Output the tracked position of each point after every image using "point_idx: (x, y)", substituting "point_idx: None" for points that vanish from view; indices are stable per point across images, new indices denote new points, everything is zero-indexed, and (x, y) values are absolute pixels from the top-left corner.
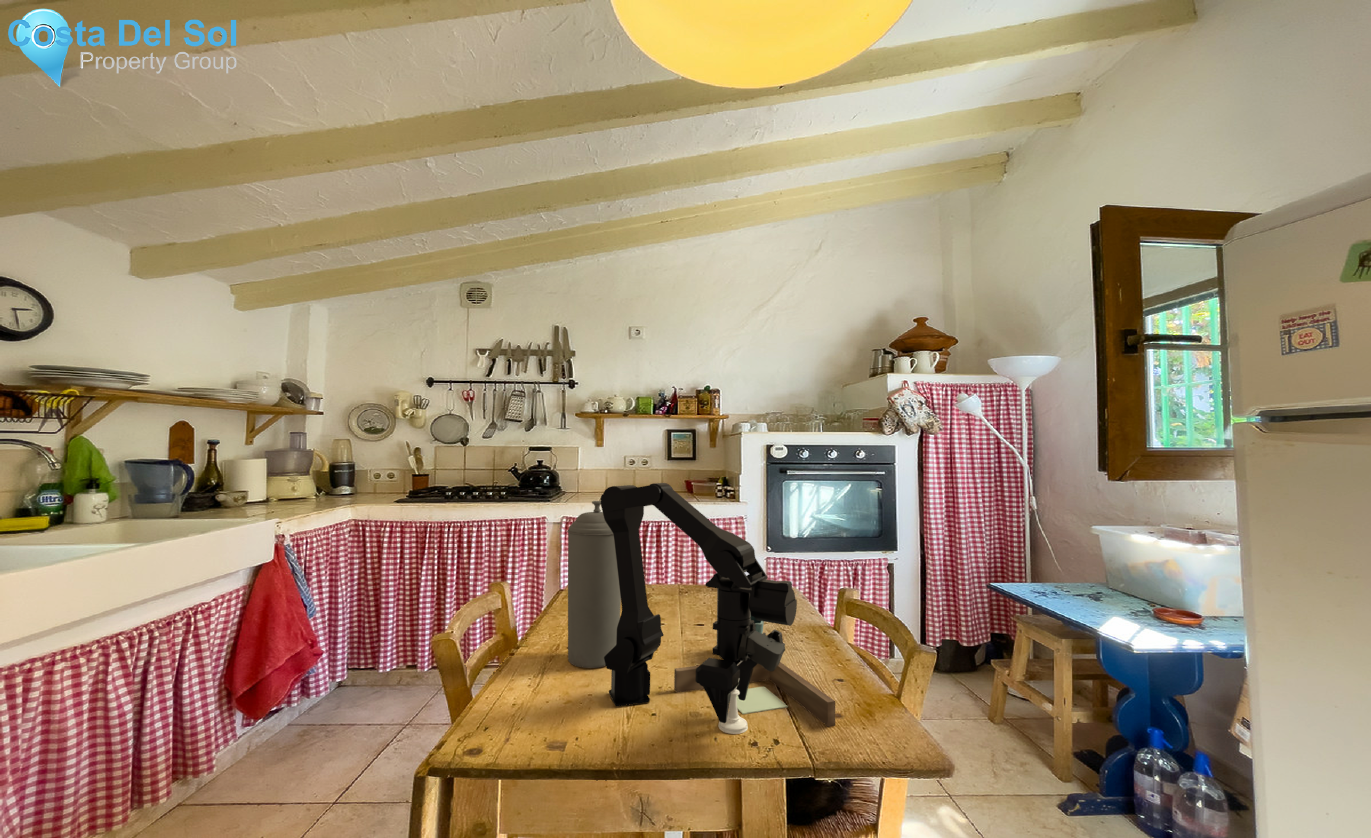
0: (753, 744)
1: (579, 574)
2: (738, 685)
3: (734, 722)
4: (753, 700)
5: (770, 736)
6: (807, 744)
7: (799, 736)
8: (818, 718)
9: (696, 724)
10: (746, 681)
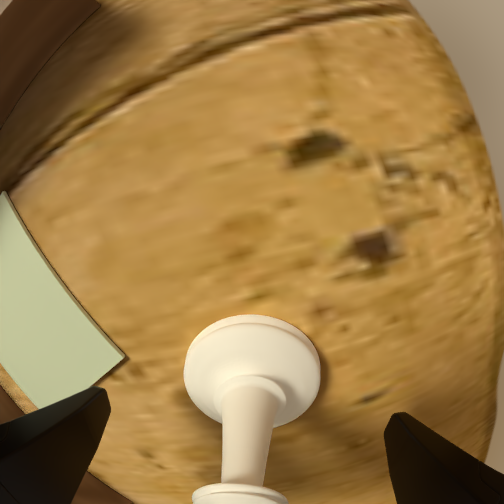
0: (381, 251)
1: None
2: (79, 459)
3: (282, 383)
4: (25, 328)
5: (274, 186)
6: (277, 19)
7: (215, 57)
8: (52, 52)
9: (285, 465)
10: (44, 447)
